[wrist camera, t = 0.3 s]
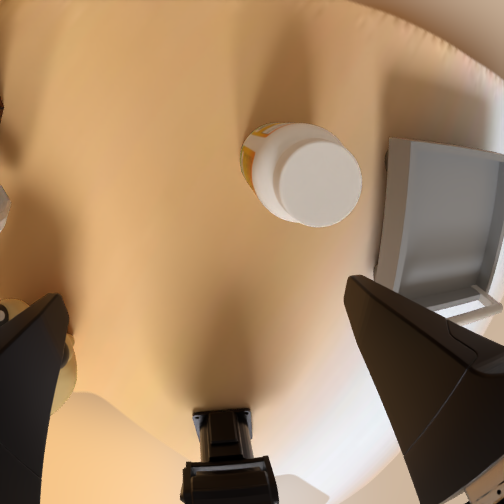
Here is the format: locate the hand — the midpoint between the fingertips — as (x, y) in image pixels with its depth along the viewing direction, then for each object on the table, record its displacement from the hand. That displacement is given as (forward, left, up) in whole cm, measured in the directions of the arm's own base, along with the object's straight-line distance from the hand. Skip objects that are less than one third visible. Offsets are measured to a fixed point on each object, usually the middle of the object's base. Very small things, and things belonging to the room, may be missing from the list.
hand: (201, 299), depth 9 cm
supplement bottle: (+2, -5, -15) cm, 16 cm away
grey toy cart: (-3, -20, -15) cm, 25 cm away
